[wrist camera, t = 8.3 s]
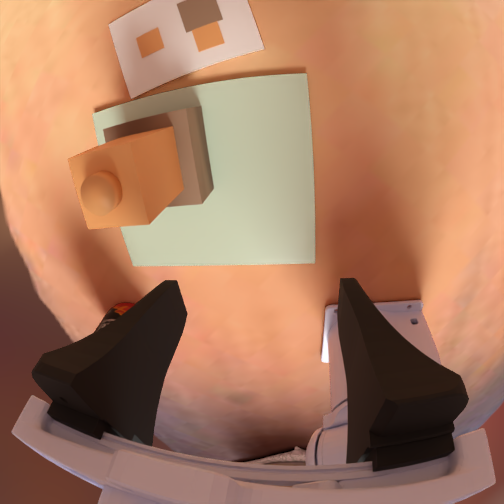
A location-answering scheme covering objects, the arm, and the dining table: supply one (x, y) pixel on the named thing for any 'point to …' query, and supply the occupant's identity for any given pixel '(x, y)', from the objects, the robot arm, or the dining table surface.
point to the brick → (128, 179)
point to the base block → (179, 149)
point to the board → (235, 176)
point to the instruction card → (181, 39)
